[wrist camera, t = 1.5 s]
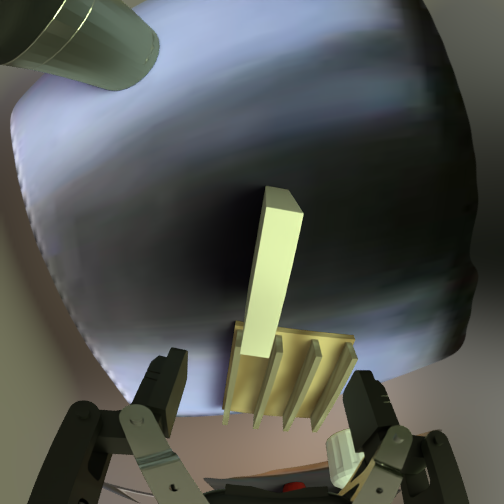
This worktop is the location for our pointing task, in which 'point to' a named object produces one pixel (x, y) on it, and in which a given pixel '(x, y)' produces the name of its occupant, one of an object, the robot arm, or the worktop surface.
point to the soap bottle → (342, 457)
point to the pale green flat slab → (270, 270)
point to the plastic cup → (293, 486)
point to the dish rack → (289, 376)
